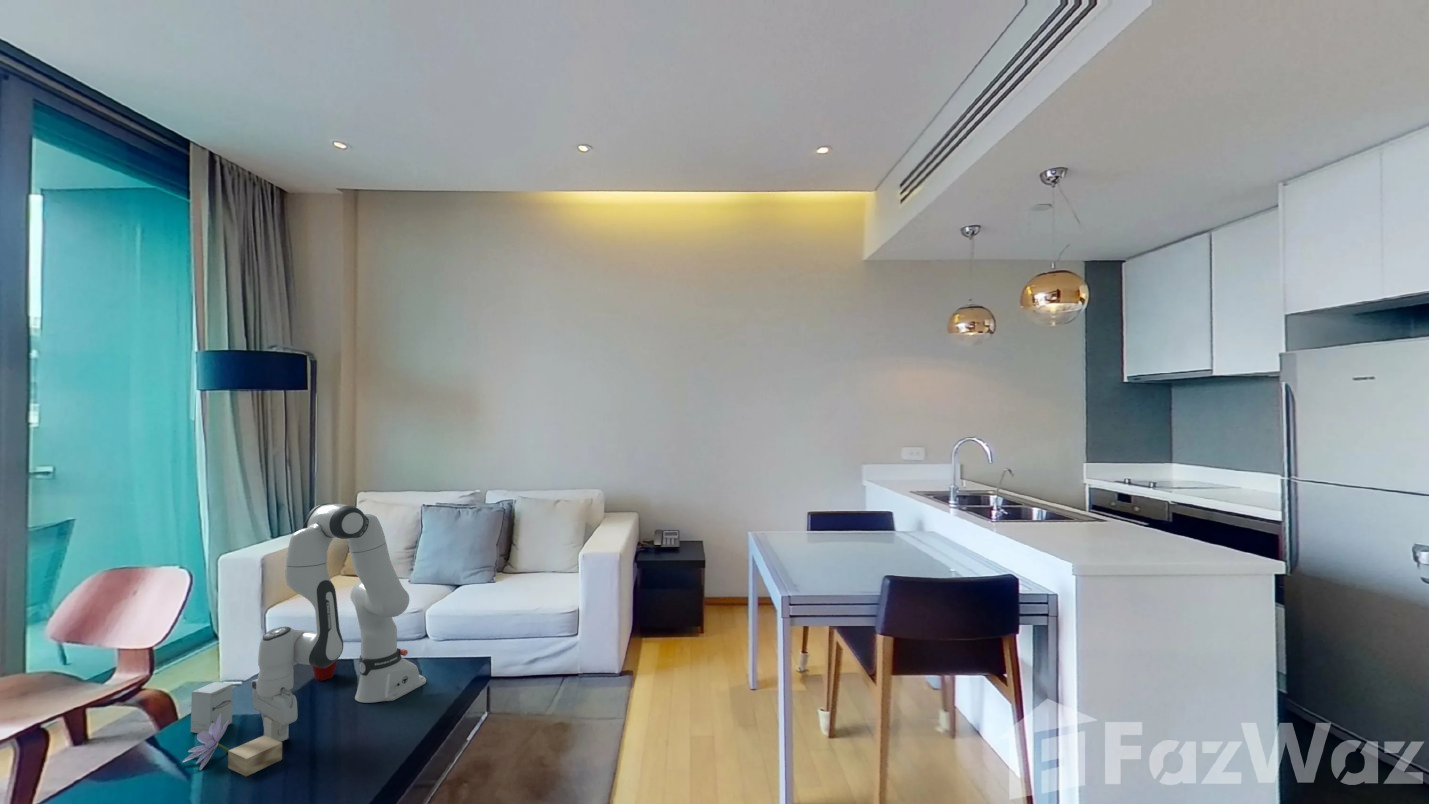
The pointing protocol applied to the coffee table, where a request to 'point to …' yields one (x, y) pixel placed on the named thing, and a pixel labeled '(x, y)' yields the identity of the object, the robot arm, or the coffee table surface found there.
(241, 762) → the oak block
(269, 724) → the pale two-tone block
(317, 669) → the plastic cup
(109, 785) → the coffee table surface
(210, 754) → the water lily
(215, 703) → the supplement box
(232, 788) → the coffee table surface
